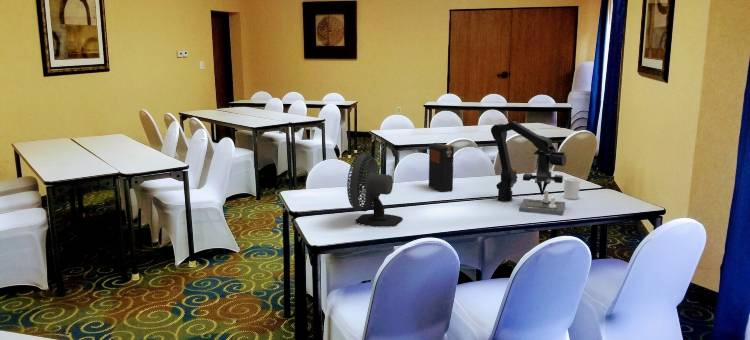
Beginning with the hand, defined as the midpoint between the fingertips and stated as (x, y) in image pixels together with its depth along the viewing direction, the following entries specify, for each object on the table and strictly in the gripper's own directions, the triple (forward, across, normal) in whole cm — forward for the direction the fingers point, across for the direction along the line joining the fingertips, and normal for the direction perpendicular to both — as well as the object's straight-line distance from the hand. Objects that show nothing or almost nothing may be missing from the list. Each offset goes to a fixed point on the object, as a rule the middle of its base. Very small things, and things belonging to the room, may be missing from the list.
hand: (542, 194), depth 297 cm
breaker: (+3, +6, -10) cm, 12 cm away
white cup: (+6, +13, +22) cm, 26 cm away
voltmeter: (+6, -56, +18) cm, 59 cm away
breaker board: (+6, +1, -5) cm, 7 cm away
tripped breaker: (+3, +2, 0) cm, 4 cm away
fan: (+6, -70, -53) cm, 88 cm away
